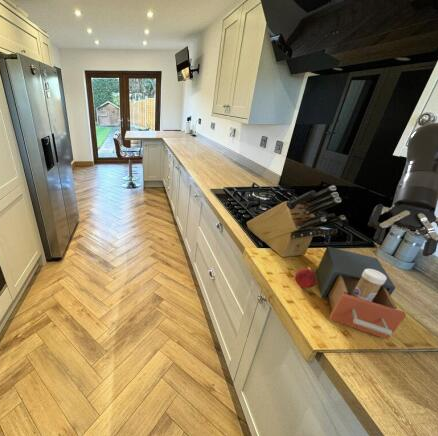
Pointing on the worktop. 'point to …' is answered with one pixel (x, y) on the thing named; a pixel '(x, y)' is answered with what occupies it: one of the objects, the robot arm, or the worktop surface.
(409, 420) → the worktop surface
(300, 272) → the onion
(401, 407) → the worktop surface
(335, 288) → the drawer
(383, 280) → the sprinkles bottle
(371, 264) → the cabinet
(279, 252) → the knife block
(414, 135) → the robot arm
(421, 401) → the worktop surface
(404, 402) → the worktop surface
